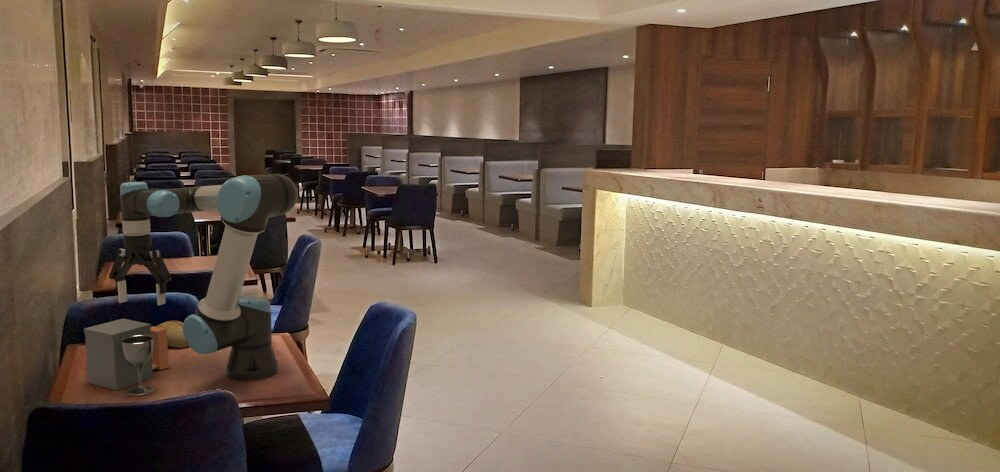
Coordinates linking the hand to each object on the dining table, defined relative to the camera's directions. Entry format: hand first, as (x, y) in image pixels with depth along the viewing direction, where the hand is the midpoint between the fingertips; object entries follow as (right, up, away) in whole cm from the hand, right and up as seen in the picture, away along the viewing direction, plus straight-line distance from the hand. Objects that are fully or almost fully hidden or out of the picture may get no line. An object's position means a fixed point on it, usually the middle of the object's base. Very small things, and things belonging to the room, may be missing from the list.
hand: (142, 303), depth 232 cm
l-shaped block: (+2, -20, -2) cm, 20 cm away
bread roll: (-2, -16, +25) cm, 30 cm away
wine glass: (+8, -23, -17) cm, 30 cm away
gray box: (-2, -22, -9) cm, 24 cm away
